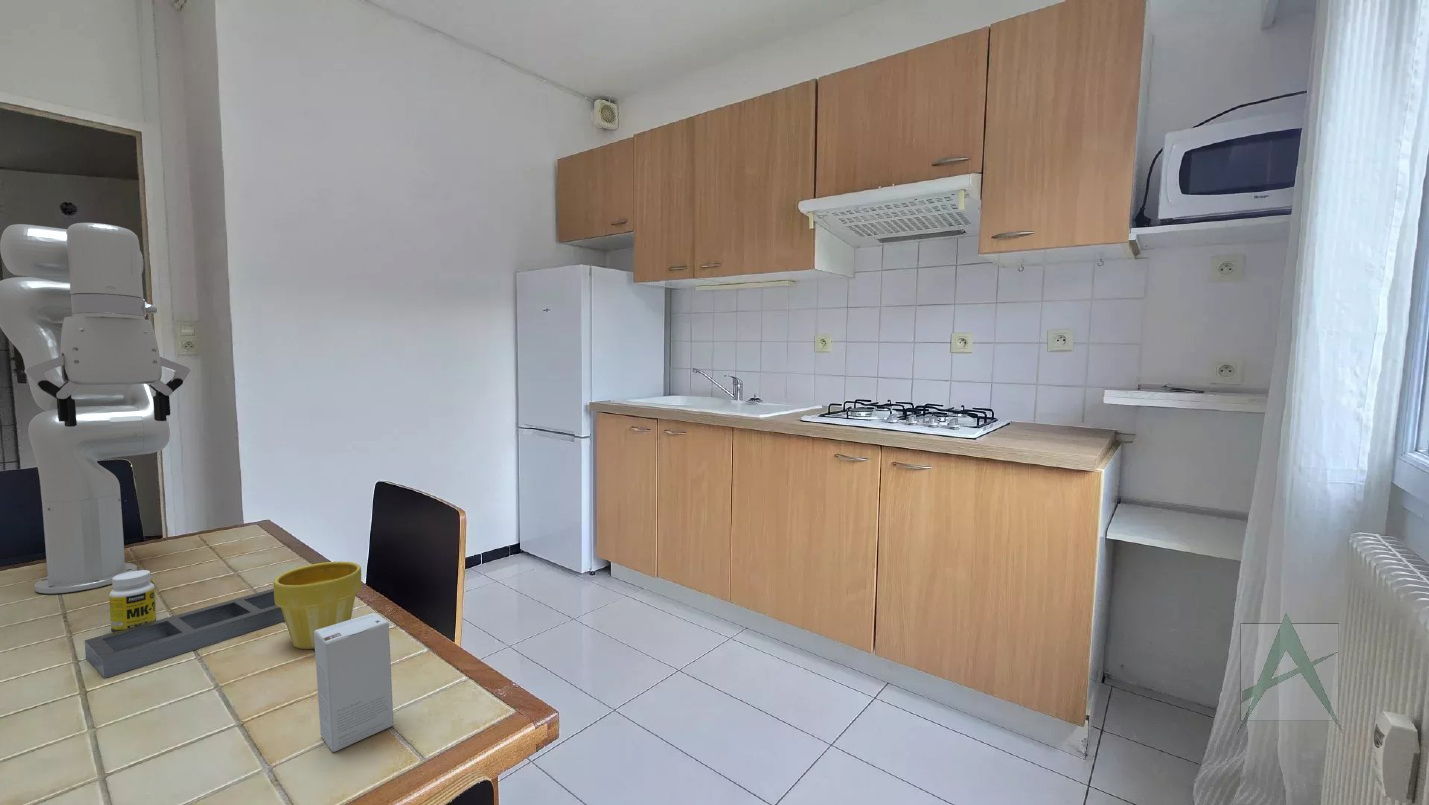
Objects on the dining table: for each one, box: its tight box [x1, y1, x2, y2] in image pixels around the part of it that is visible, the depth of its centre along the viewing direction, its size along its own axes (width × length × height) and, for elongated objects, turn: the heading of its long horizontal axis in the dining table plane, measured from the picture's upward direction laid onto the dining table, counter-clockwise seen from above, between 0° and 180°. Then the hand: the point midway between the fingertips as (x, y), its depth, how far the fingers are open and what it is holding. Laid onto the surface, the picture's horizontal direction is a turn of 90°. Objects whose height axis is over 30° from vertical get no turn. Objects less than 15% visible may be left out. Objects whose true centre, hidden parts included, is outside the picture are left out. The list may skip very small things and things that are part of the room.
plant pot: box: [272, 561, 362, 650], centre depth 83 cm, size 10×10×10 cm
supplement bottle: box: [108, 569, 157, 633], centre depth 86 cm, size 5×5×8 cm
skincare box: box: [314, 612, 394, 753], centre depth 62 cm, size 6×4×12 cm
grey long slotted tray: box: [83, 587, 285, 679], centre depth 86 cm, size 9×25×2 cm, turn 147°
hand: (117, 423), depth 87 cm, fingers open, 9 cm apart
